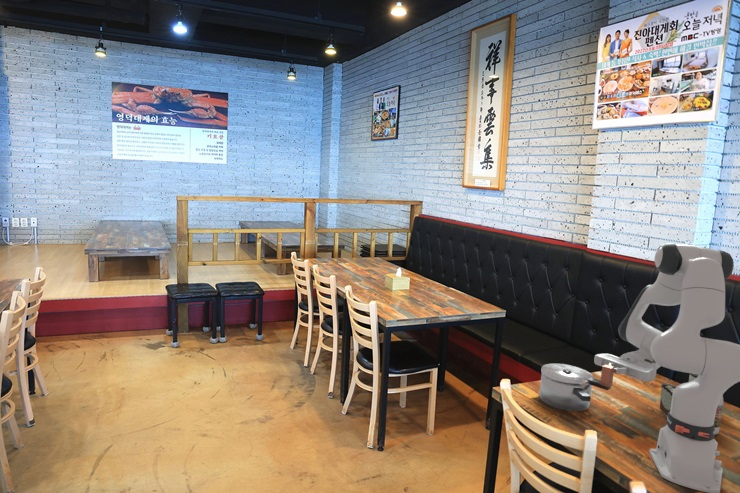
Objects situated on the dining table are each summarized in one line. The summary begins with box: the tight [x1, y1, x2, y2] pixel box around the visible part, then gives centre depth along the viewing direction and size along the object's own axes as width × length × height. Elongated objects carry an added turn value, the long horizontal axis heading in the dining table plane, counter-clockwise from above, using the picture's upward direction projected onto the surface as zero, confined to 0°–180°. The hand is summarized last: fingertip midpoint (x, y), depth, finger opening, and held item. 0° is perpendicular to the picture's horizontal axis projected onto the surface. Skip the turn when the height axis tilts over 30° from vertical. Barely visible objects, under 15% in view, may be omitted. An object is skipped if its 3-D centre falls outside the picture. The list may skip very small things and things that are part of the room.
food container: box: [659, 382, 678, 418], centre depth 180 cm, size 12×6×10 cm, turn 168°
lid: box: [540, 363, 615, 391], centre depth 183 cm, size 25×19×8 cm
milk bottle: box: [714, 394, 724, 436], centre depth 169 cm, size 8×8×20 cm
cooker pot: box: [538, 373, 593, 412], centre depth 184 cm, size 27×18×10 cm
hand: (611, 370), depth 175 cm, fingers closed
